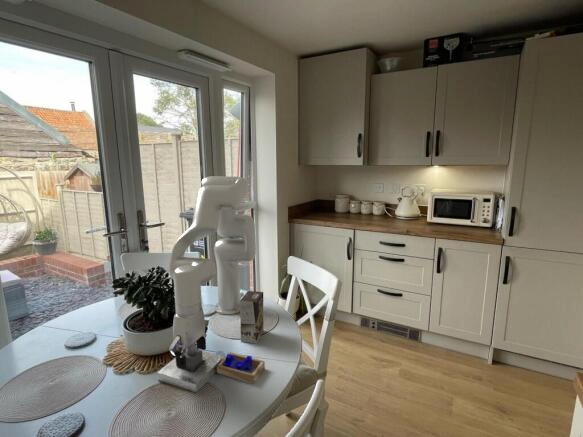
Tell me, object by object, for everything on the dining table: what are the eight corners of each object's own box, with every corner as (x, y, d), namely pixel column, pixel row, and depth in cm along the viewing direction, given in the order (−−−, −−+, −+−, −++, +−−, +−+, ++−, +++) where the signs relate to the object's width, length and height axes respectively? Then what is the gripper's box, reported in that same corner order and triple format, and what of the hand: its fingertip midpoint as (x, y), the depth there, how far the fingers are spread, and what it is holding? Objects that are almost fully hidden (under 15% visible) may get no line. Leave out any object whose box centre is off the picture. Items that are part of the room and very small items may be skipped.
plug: (191, 364, 103) (189, 335, 101) (202, 367, 101) (201, 339, 99) (181, 372, 99) (179, 343, 97) (193, 376, 97) (191, 346, 95)
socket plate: (188, 353, 109) (188, 345, 108) (223, 363, 104) (223, 354, 103) (157, 379, 96) (157, 370, 95) (196, 392, 91) (196, 382, 91)
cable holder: (224, 372, 100) (223, 360, 99) (228, 365, 104) (227, 353, 103) (249, 374, 99) (249, 363, 98) (252, 367, 103) (251, 356, 102)
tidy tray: (230, 359, 106) (230, 352, 106) (264, 368, 102) (264, 361, 101) (217, 373, 99) (216, 365, 99) (253, 383, 95) (253, 376, 94)
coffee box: (257, 343, 115) (256, 302, 112) (240, 341, 116) (239, 300, 113) (264, 330, 124) (264, 291, 121) (248, 328, 125) (247, 289, 122)
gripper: (196, 293, 105) (199, 340, 109) (157, 317, 89) (161, 371, 93) (216, 296, 103) (217, 345, 106) (179, 323, 87) (183, 378, 90)
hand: (191, 357), depth 99 cm, fingers open, 9 cm apart
